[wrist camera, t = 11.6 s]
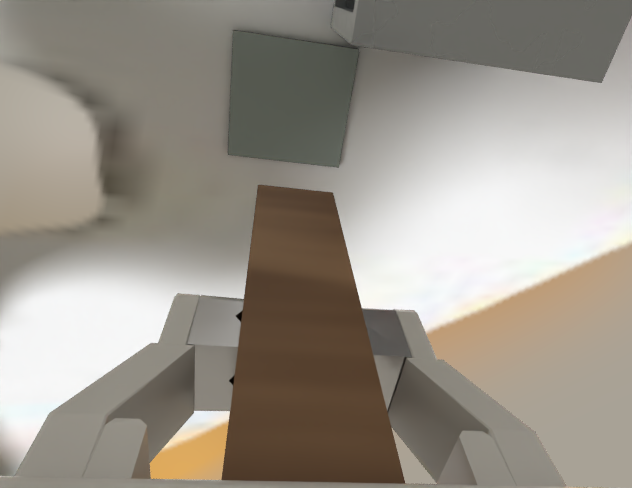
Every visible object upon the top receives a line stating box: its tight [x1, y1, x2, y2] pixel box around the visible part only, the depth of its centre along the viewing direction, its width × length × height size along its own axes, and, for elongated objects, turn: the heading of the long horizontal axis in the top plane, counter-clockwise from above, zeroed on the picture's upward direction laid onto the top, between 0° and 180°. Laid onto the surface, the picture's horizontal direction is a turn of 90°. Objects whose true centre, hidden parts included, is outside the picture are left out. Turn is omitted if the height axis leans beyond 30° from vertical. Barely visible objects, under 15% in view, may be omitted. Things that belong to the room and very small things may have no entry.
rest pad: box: [228, 30, 359, 168], centre depth 30 cm, size 8×8×1 cm
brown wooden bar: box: [222, 185, 405, 484], centre depth 10 cm, size 2×2×10 cm
